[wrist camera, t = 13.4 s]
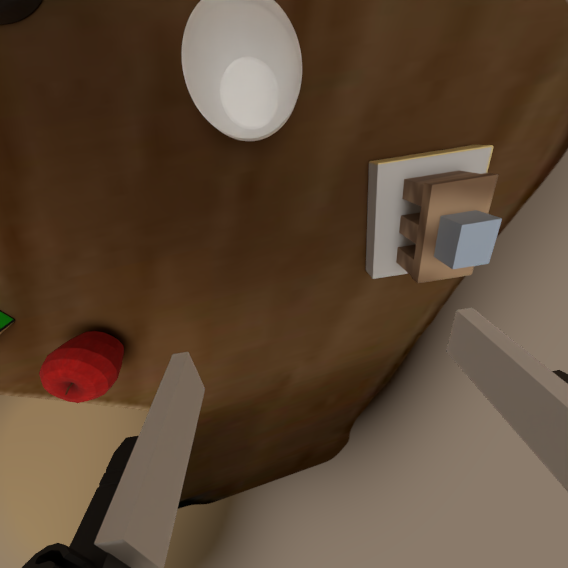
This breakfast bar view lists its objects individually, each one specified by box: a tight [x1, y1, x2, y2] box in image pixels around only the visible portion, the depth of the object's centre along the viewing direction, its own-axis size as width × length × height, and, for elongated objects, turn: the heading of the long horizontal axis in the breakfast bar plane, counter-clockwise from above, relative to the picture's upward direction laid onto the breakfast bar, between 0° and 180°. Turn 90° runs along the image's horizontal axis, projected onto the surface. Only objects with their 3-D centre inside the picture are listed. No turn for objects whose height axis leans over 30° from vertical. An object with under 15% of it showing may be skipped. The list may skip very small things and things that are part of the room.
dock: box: [366, 145, 494, 279], centre depth 36 cm, size 16×14×3 cm
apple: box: [39, 331, 124, 403], centre depth 40 cm, size 10×10×11 cm
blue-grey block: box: [434, 210, 502, 269], centre depth 28 cm, size 5×4×4 cm
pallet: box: [396, 170, 499, 283], centre depth 32 cm, size 12×7×6 cm, turn 8°
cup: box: [182, 0, 302, 141], centre depth 24 cm, size 9×9×12 cm
